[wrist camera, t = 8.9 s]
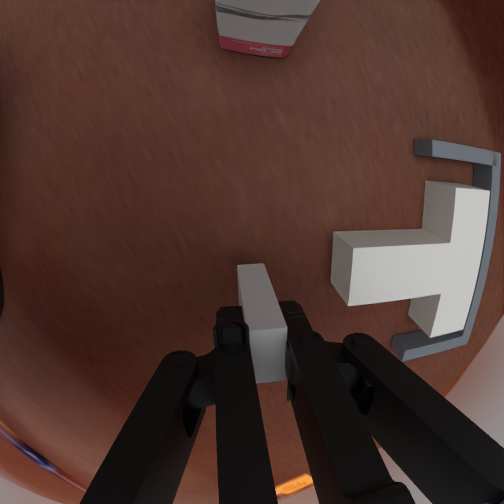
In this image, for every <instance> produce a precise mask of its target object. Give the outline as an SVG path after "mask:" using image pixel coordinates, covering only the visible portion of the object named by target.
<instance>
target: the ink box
mask: <svg viewBox="0 0 504 504" xmlns="http://www.w3.org/2000/svg"><path fill="white" fill-rule="evenodd" d="M319 1H320V0H215V9H216V19H217V28H218V37H219V45H220V47H221V48H222V49H226V50H231V51H236V52H241V53H246V54H252V55H259V56H267V57H278V58H285V57H287V55H288V53H289V52H290V50H291V48H292V46H293V45H294V43H295V41H296V39H297V38H298V36H299V34H300V32H301V31H302V29H303V27H304V26H305V24H306V22H307V21H308V19H309V17H310V15H311V14H312V12H313V11H314V9H315V8H316V6H317V4H318V3H319Z"/></svg>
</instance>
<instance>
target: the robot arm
mask: <svg viewBox="0 0 504 504" xmlns="http://www.w3.org/2000/svg"><path fill="white" fill-rule="evenodd" d="M237 275H238V293H239V306H228V307H220V309H219V310H218V311H217V313H216V325H215V326H214V328H213V335H214V343H215V348H214V349H213V350H212V351H211V352H210V353H208V354H206V355H203V356H200V357H196V356H195V355H194V354H193V353H191V352H188V351H175V352H171V353H169V354H168V355H166V356H165V357H164V358H163V360H162V361H161V363H160V365H159V366H158V368H157V370H156V371H155V373H154V375H153V376H152V378H151V380H150V381H149V383H148V385H147V386H146V388H145V390H144V392H143V393H142V395H141V397H140V398H139V400H138V402H137V403H136V405H135V407H134V409H133V410H132V412H131V414H130V415H129V417H128V419H127V421H126V422H125V424H124V426H123V427H122V429H121V431H120V433H119V434H118V436H117V438H116V440H115V441H114V443H113V445H112V447H111V448H110V450H109V452H108V454H107V455H106V457H105V459H104V461H103V462H102V464H101V466H100V468H99V470H98V471H97V473H96V475H95V477H94V478H93V480H92V482H91V484H90V486H89V487H88V489H87V491H86V493H85V495H84V496H83V498H82V500H81V502H80V504H172V503H173V501H174V498H175V495H176V492H177V490H178V487H179V484H180V481H181V478H182V476H183V473H184V470H185V467H186V464H187V462H188V459H189V456H190V453H191V450H192V448H193V445H194V442H195V439H196V436H197V434H198V431H199V428H200V425H201V422H202V419H203V417H204V414H205V411H206V407H207V406H210V405H214V404H216V439H217V466H218V488H219V504H278V502H277V496H276V491H275V486H274V480H273V475H272V470H271V464H270V459H269V453H268V448H267V442H266V437H265V431H264V425H263V420H262V414H261V408H260V402H259V397H258V391H257V385H256V383H266V382H276V381H284V380H285V377H286V375H287V378H288V386H287V401H289V400H291V403H292V407H293V411H294V414H295V418H296V421H297V425H298V429H299V432H300V436H301V440H302V443H303V447H304V450H305V454H306V458H307V461H308V465H309V468H310V472H311V476H312V479H313V483H314V486H315V490H316V494H317V497H318V501H319V504H415V502H414V500H413V498H412V496H411V493H410V491H409V490H408V488H407V487H406V485H404V484H403V483H402V482H395V481H393V480H392V478H391V476H390V474H389V472H388V470H387V468H386V466H385V464H384V461H383V459H382V457H381V455H380V453H379V451H378V449H377V447H376V445H375V442H374V440H373V438H374V439H375V440H376V441H377V442H378V443H379V445H380V446H381V447H382V448H383V449H384V450H385V451H386V452H387V454H388V455H389V456H390V457H391V458H392V459H393V461H394V462H395V463H396V464H397V465H398V466H399V467H400V468H401V469H402V471H403V472H404V473H405V474H406V475H407V476H408V477H409V478H410V480H411V481H412V482H413V483H414V484H415V485H416V486H417V487H418V488H419V489H420V491H421V492H422V493H423V494H424V495H425V496H426V497H427V498H428V499H429V501H431V503H432V504H504V448H503V447H502V446H500V445H499V444H498V443H497V442H496V441H495V440H493V439H492V438H491V437H490V436H489V435H488V434H486V433H485V432H484V431H483V430H482V429H481V428H479V427H478V426H477V425H476V424H475V423H474V422H472V421H471V420H470V419H469V418H468V417H467V416H465V415H464V414H463V413H462V412H461V411H460V410H458V409H457V408H456V407H455V406H453V405H452V404H451V403H450V402H449V401H448V400H446V399H445V398H444V397H443V396H442V395H441V394H439V393H438V392H437V391H436V390H435V389H433V388H432V387H431V386H430V385H429V384H428V383H426V382H425V381H424V380H423V379H422V378H420V377H419V376H418V375H417V374H416V373H414V372H413V371H412V370H411V369H410V368H408V367H407V366H406V365H405V364H404V363H402V362H401V361H400V360H399V359H398V358H396V357H395V356H394V355H393V354H392V353H390V352H389V351H388V350H387V349H386V348H384V347H383V346H382V345H381V344H380V343H378V342H377V341H376V340H375V339H374V338H372V337H371V336H369V335H367V334H363V333H353V334H349V335H347V336H346V337H345V338H344V339H343V343H335V342H327V341H324V339H323V337H322V336H321V335H320V334H319V333H317V332H315V331H313V330H312V328H311V325H310V323H309V321H308V319H307V317H306V315H305V313H304V312H303V309H302V307H301V305H300V304H298V303H297V302H295V301H294V300H293V301H282V302H278V301H277V298H276V295H275V292H274V290H273V287H272V284H271V282H270V279H269V276H268V273H267V271H266V268H265V265H264V263H260V264H245V265H237ZM2 298H3V297H2V283H1V276H0V314H1V310H2ZM371 435H372V436H371ZM372 437H373V438H372Z"/></svg>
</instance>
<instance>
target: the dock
mask: <svg viewBox="0 0 504 504" xmlns="http://www.w3.org/2000/svg"><path fill="white" fill-rule="evenodd" d="M414 155H422V156H430V157H438V158H446V159H453V160H460V161H466V162H473V163H474V176H473V187H477V188H481V189H485V190H489V191H490V195H489V206H488V215H487V224H486V231H485V238H484V244H483V250H482V256H481V261H480V266H479V271H478V276H477V280H476V284H475V289H474V293H473V297H472V301H471V304H470V308H469V312H468V315H467V319H466V322H465V325H464V328H463V330H459V331H455V332H452V333H448V334H444V335H440V336H435V337H431V338H430V337H429V336H428V335H427V334H426V333H425V332H424V331H423V330H419V331H414V332H409V333H404V334H399V335H394V336H393V338H392V343H391V347H392V348H393V350H394V351H395V352H396V354H397V355H398V357H399V358H400V359H401V361H406V360H410V359H414V358H418V357H422V356H426V355H430V354H434V353H437V352H441V351H445V350H448V349H452V348H455V347H458V346H462V345H465V344H467V342H468V339H469V337H470V334H471V331H472V327H473V324H474V321H475V318H476V314H477V311H478V307H479V304H480V300H481V296H482V293H483V289H484V284H485V280H486V276H487V271H488V267H489V262H490V257H491V251H492V245H493V239H494V233H495V226H496V218H497V209H498V199H499V186H500V166H501V153H497V152H493V151H489V150H484V149H480V148H475V147H470V146H465V145H460V144H455V143H449V142H443V141H437V140H414Z"/></svg>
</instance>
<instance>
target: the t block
mask: <svg viewBox="0 0 504 504" xmlns="http://www.w3.org/2000/svg"><path fill="white" fill-rule="evenodd" d="M489 195H490V191H489V190H485V189H481V188H477V187H473V186H469V185H464V184H460V183H450V182H439V181H426V180H425V196H424V210H423V221H422V229H400V230H367V231H337V232H333V249H332V266H331V281H330V282H331V284H332V285H333V286H334V288H335V289H336V290H337V292H338V293H339V294H340V296H341V297H342V299H343V300H344V301H345V303H346V304H347V306H355V305H363V304H372V303H380V302H388V301H395V300H403V299H410V298H411V302H410V307H409V312H408V316H409V317H410V318H411V319H412V320H413V321H414V322H415V323H416V324H417V325H418V326H419V327H420V328H421V329H422V330H423V331H424V332H425V333H426V334H427V335H428V336H429V337H430V338H431V337H435V336H440V335H444V334H448V333H452V332H455V331H459V330H463V328H464V325H465V322H466V319H467V315H468V312H469V308H470V304H471V301H472V297H473V293H474V289H475V284H476V280H477V276H478V271H479V266H480V261H481V256H482V250H483V244H484V238H485V231H486V224H487V215H488V206H489Z"/></svg>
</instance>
